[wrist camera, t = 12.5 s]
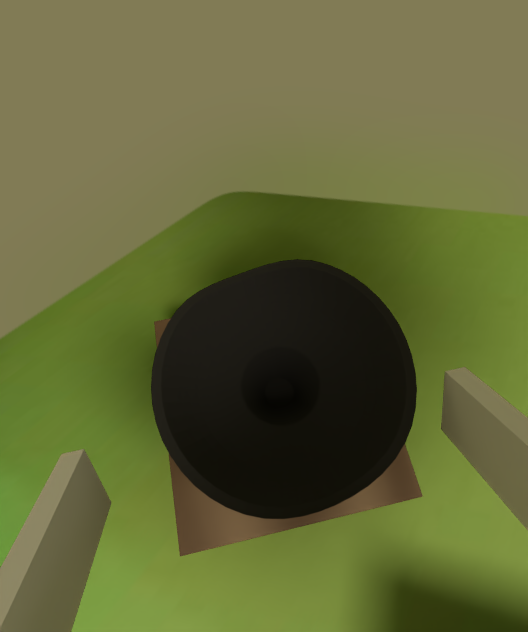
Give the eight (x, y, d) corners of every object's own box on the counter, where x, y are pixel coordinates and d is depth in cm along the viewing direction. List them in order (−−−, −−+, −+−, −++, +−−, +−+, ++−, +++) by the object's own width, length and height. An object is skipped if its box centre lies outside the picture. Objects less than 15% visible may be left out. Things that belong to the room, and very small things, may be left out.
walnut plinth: (339, 302, 28) (349, 281, 25) (398, 488, 23) (422, 496, 20) (170, 338, 28) (154, 321, 24) (195, 537, 23) (180, 556, 19)
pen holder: (329, 510, 20) (383, 571, 10) (178, 451, 21) (103, 458, 11) (368, 357, 23) (437, 295, 13) (234, 313, 24) (211, 229, 14)
